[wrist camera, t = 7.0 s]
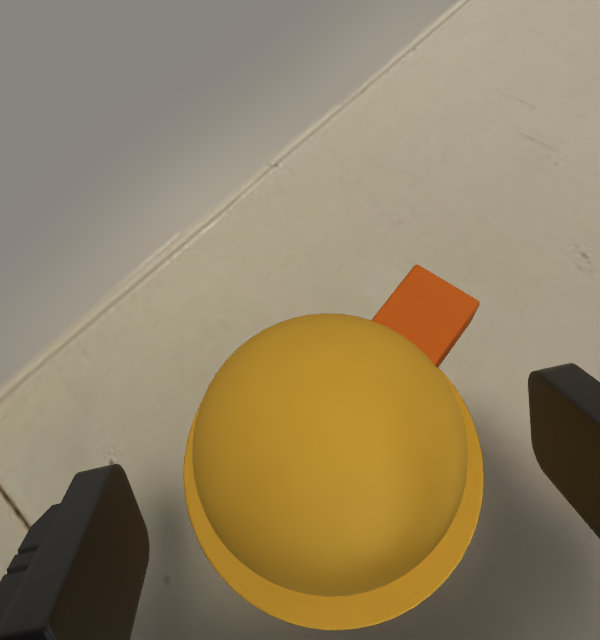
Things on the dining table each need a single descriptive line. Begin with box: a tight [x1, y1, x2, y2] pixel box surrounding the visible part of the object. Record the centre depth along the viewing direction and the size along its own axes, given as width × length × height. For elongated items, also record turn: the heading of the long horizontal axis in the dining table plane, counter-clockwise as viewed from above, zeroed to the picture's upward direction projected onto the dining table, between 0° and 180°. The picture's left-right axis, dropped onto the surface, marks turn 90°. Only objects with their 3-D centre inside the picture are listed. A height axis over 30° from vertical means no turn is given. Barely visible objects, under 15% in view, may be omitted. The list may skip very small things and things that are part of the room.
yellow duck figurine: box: [184, 265, 484, 630], centre depth 11 cm, size 6×5×10 cm
